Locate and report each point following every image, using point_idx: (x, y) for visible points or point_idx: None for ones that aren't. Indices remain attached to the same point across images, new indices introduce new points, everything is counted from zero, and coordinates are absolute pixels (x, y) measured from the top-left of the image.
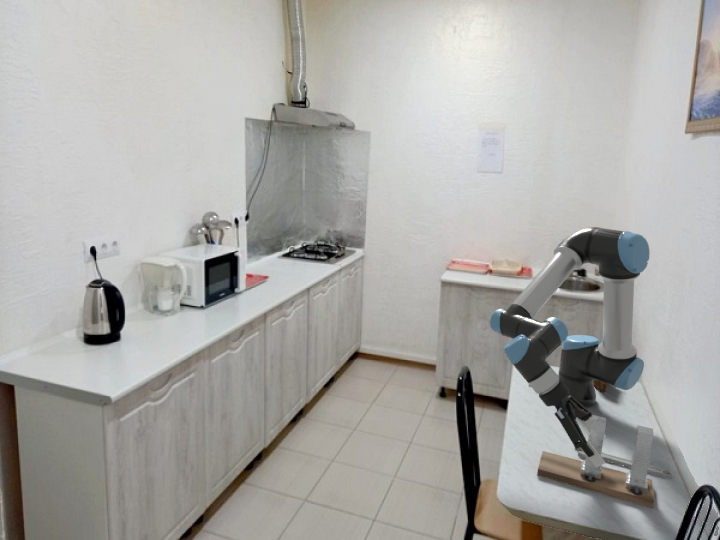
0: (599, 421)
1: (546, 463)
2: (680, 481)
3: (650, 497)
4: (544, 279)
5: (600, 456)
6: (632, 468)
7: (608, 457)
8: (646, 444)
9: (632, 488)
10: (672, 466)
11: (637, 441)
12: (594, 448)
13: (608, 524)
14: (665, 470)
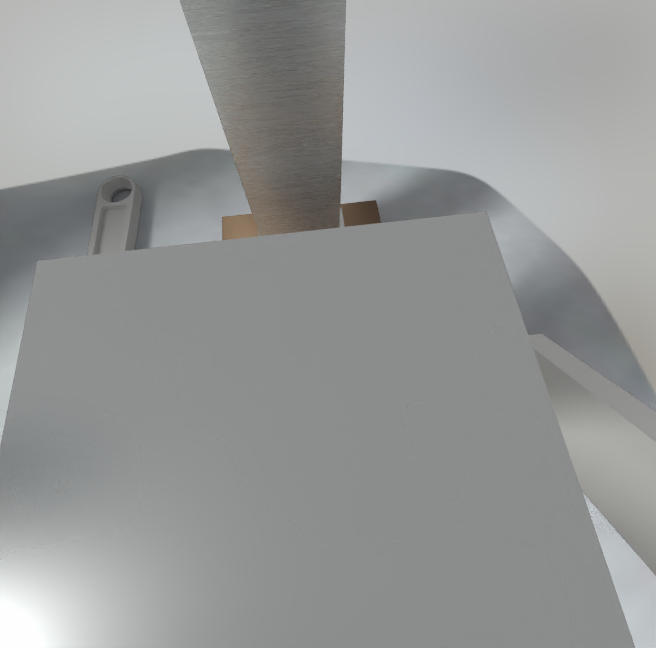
0: (462, 422)
1: None
2: (143, 163)
3: (360, 211)
4: None
5: (570, 365)
6: (339, 225)
7: None
8: None
9: None
10: (45, 187)
11: (342, 19)
12: (642, 425)
13: (593, 332)
14: (102, 194)
